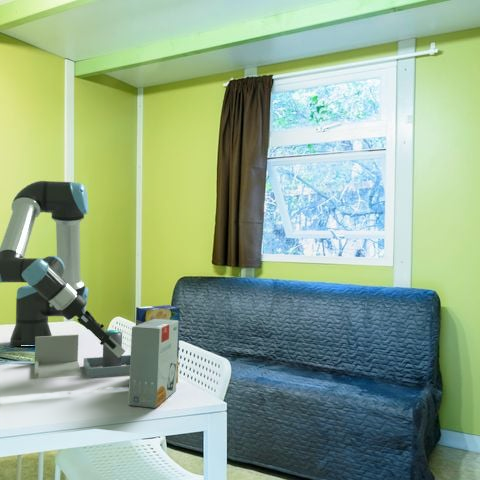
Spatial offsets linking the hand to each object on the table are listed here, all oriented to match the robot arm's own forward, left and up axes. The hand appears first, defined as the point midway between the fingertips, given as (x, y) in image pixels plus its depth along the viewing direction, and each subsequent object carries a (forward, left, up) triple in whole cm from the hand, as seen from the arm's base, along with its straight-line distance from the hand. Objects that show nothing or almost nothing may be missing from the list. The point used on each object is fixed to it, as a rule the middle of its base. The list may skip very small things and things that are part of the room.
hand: (118, 349), depth 149 cm
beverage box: (+12, +9, -8) cm, 17 cm away
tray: (0, -2, -8) cm, 8 cm away
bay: (-6, -17, -8) cm, 20 cm away
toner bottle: (0, -2, -7) cm, 7 cm away
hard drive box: (+26, +5, -8) cm, 28 cm away
